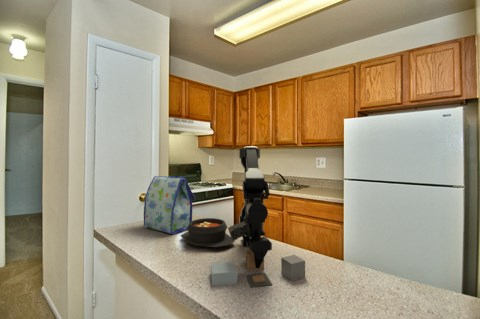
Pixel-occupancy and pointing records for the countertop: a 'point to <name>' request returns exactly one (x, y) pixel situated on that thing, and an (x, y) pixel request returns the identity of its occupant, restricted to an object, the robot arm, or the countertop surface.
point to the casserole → (207, 233)
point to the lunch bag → (168, 204)
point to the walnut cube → (251, 261)
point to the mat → (258, 280)
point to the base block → (223, 273)
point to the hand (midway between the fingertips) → (254, 262)
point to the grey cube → (293, 267)
